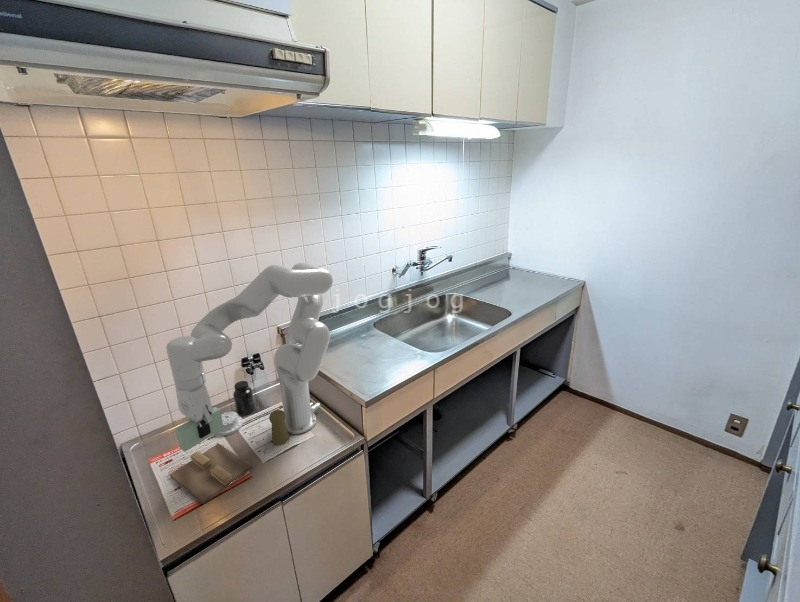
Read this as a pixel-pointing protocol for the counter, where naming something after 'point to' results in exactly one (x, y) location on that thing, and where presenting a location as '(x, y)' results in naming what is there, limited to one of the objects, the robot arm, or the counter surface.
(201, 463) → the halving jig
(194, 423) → the sage plate
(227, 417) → the mechanical component
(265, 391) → the counter surface
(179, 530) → the counter surface
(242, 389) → the supplement bottle
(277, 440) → the cork
